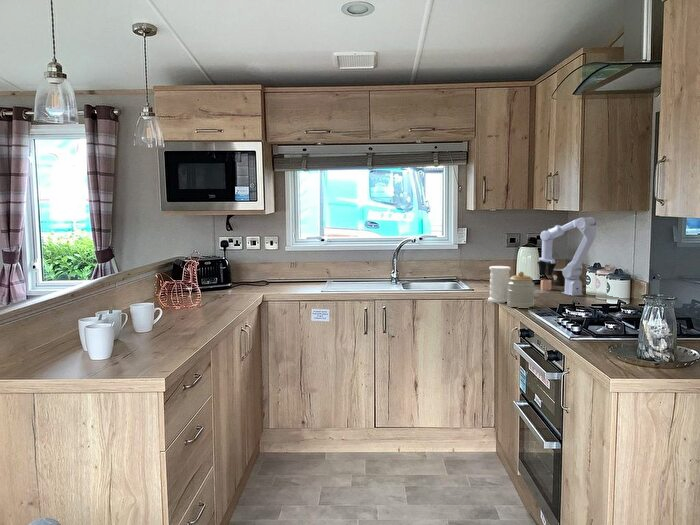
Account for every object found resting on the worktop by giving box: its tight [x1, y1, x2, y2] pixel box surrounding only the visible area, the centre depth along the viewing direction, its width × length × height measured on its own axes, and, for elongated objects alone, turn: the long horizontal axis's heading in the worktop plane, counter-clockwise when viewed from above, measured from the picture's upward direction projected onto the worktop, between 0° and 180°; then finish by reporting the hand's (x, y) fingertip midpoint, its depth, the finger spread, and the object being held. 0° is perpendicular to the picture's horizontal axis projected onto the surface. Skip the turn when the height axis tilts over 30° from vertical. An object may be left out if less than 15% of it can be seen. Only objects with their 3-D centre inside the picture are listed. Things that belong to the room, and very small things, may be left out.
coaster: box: [534, 289, 552, 295], centre depth 312 cm, size 10×10×1 cm
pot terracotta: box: [540, 279, 553, 291], centre depth 319 cm, size 6×6×6 cm
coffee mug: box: [549, 268, 565, 287], centre depth 337 cm, size 12×9×10 cm
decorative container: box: [487, 265, 511, 304], centre depth 287 cm, size 12×12×18 cm
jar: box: [506, 271, 535, 308], centre depth 271 cm, size 13×13×18 cm
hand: (546, 274), depth 319 cm, fingers open, 7 cm apart
